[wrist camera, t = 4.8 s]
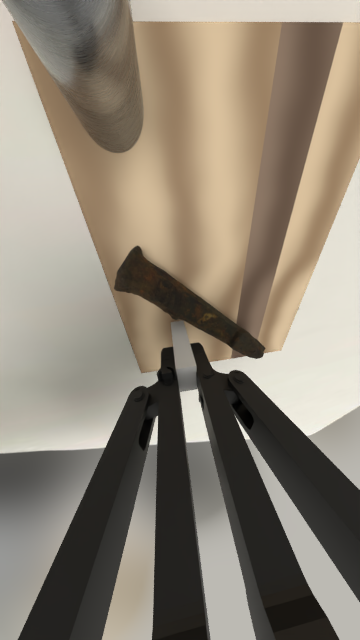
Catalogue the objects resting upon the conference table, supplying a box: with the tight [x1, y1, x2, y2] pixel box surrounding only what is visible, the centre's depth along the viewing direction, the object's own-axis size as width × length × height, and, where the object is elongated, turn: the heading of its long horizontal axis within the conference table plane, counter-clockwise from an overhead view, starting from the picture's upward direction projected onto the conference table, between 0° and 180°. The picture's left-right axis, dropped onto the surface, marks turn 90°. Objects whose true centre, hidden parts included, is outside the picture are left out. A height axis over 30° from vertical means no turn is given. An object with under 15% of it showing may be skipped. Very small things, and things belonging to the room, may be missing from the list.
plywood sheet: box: [12, 21, 360, 373], centre depth 14 cm, size 24×28×1 cm
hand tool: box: [114, 245, 266, 359], centre depth 14 cm, size 19×4×5 cm, turn 52°
